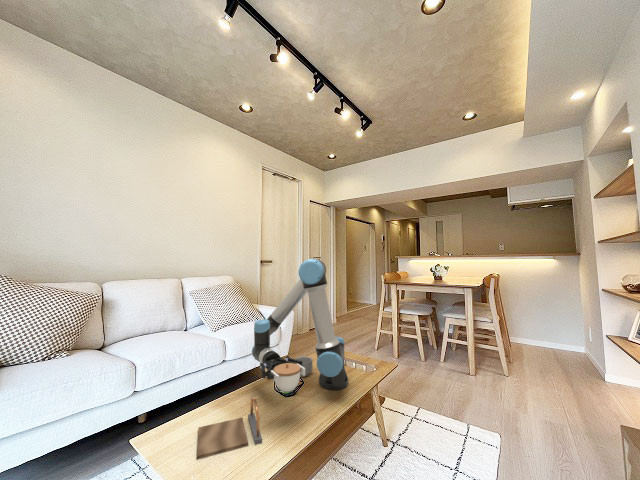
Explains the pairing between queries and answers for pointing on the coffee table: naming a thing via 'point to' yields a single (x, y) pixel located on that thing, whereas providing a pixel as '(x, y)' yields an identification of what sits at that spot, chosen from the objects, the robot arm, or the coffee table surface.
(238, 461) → the coffee table surface
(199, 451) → the pad
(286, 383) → the lidded jar
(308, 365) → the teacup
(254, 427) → the wire stand
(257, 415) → the buzz wire
